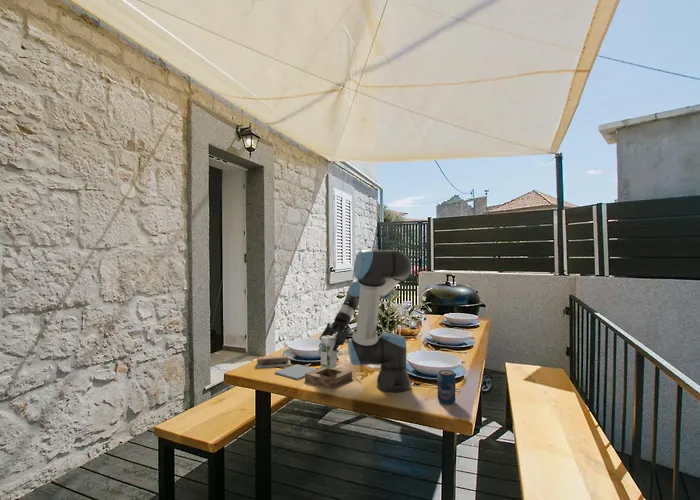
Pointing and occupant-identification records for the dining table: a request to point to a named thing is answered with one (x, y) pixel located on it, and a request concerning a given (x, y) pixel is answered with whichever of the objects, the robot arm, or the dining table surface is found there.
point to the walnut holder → (322, 379)
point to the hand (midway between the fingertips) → (323, 354)
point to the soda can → (446, 387)
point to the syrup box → (325, 348)
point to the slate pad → (295, 371)
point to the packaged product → (273, 361)
